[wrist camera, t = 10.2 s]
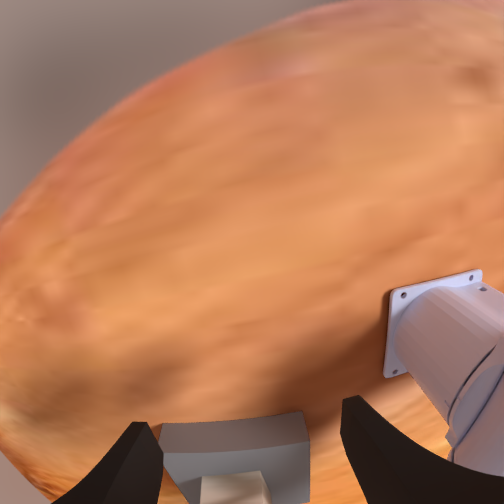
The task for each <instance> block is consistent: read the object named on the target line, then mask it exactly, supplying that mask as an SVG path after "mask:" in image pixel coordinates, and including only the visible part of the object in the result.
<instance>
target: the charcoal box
mask: <svg viewBox="0 0 504 504" xmlns="http://www.w3.org/2000/svg"><path fill="white" fill-rule="evenodd" d="M158 444H159V446H160V448H161V449H162V451H163V453H164V460H163V465H164V467H165V469H166V470H167V472H168V473H169V475H170V476H171V478H172V479H173V481H174V482H175V484H176V485H177V487H178V488H179V490H180V491H181V493H182V494H183V495H184V497H185V498H186V500H187V501H188V502H189V504H200V496H201V484H202V476H215V475H227V474H237V473H245V472H253V471H259V470H260V471H261V474H262V476H263V478H264V480H265V482H266V485H267V487H268V489H269V491H270V493H271V500H272V504H301V503H307V502H310V439H309V435H308V431H307V427H306V424H305V420H304V416H303V412H302V411H299V412H293V413H287V414H280V415H274V416H266V417H258V418H250V419H240V420H229V421H216V422H198V423H163V425H162V429H161V433H160V437H159V441H158Z"/></svg>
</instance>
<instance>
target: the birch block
mask: <svg viewBox="0 0 504 504" xmlns="http://www.w3.org/2000/svg"><path fill="white" fill-rule="evenodd" d="M200 504H272V500H271V493H270V491H269V489H268V487H267V485H266V482H265V480H264V478H263V476H262V474H261V471H260V470H259V471H253V472H245V473H237V474H227V475H215V476H202V484H201V496H200Z"/></svg>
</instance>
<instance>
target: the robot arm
mask: <svg viewBox="0 0 504 504" xmlns="http://www.w3.org/2000/svg"><path fill="white" fill-rule="evenodd" d="M403 292H404V295H403V296H402V297H401V294H402V293H403ZM394 370H395V371H394ZM393 371H394V372H393ZM407 372H409V373H410V375H411V376H412V377H413V378H414V380H415V381H416V382H417V384H418V385H419V386H420V388H421V389H422V390H423V392H424V393H425V394H426V395H427V397H428V398H429V399H430V401H431V402H432V403H433V405H434V406H435V408H436V409H437V410H438V412H439V413H440V414H441V416H442V417H443V418H444V420H445V421H446V422H447V424H448V425H449V430H448V433H447V434H446V436H445V438H446V439H447V441H448V442H449V444H450V445H451V447H452V449H451V450H450V452H449V454H448V457H447V460H446V459H444V458H442V457H440V456H438V455H436V454H434V453H432V452H430V451H429V450H427V449H425V448H424V447H422V446H420V445H419V444H417V443H416V442H414V441H413V440H411V439H410V438H409V437H407V436H406V435H404V434H403V433H402V432H400V431H399V430H398V429H397V428H395V427H394V426H393V425H392V424H390V423H389V422H388V421H387V420H386V419H384V418H383V417H382V416H381V415H380V414H379V413H378V412H377V411H375V410H374V409H373V408H372V407H371V406H370V405H369V404H368V403H367V402H366V401H365V400H364V399H363V398H362V397H361V396H359V395H357V396H353V397H350V398H346V399H343V404H342V417H341V428H340V435H341V438H342V442H343V445H344V448H345V452H346V455H347V457H348V460H349V462H350V464H351V466H352V469H353V471H354V473H355V475H356V477H357V480H358V482H359V484H360V486H361V489H362V491H363V493H364V495H365V497H366V500H367V503H368V504H504V294H503V293H501V292H500V291H498V290H496V289H494V288H493V287H491V286H489V285H487V284H485V283H484V282H482V271H481V270H480V269H475V270H471V271H467V272H463V273H460V274H456V275H452V276H448V277H444V278H440V279H436V280H431V281H427V282H423V283H419V284H414V285H410V286H405V287H401V288H396V289H394V290H393V291H392V292H391V294H390V303H389V319H388V332H387V342H386V352H385V361H384V369H383V375H384V377H385V378H390V377H394V376H397V375H400V374H403V373H407ZM163 460H164V453H163V451H162V449H161V448H160V446H159V444H158V442H157V440H156V438H155V437H154V435H153V433H152V431H151V429H150V427H149V425H148V423H147V422H132V423H131V424H130V425H129V426H128V428H127V429H126V430H125V431H124V433H123V434H122V435H121V436H120V438H119V439H118V440H117V441H116V443H115V444H114V445H113V446H112V448H111V449H110V450H109V451H108V452H107V454H106V455H105V456H104V457H103V458H102V460H101V461H100V462H99V463H98V464H97V465H96V466H95V467H94V468H93V469H92V470H91V471H90V472H89V474H88V475H87V476H86V477H85V478H83V479H82V480H81V481H80V482H79V483H78V484H77V485H76V486H75V487H73V488H72V489H71V490H70V491H68V492H67V493H66V494H64V495H63V496H61V497H60V498H59V499H57V500H56V501H54V502H53V503H51V504H157V502H158V497H159V492H160V487H161V481H162V476H163Z"/></svg>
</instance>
